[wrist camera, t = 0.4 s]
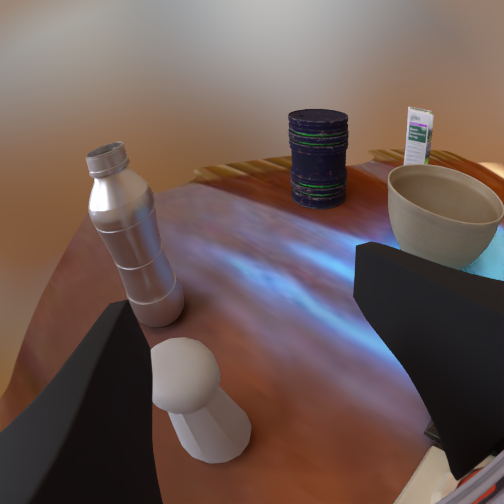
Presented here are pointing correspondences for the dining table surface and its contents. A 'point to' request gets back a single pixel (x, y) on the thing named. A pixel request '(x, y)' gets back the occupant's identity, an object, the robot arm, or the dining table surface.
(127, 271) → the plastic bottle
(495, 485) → the button
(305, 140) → the storage jar
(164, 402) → the salt shaker
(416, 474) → the button base
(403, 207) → the planter bowl
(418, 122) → the syrup box
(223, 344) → the dining table surface
